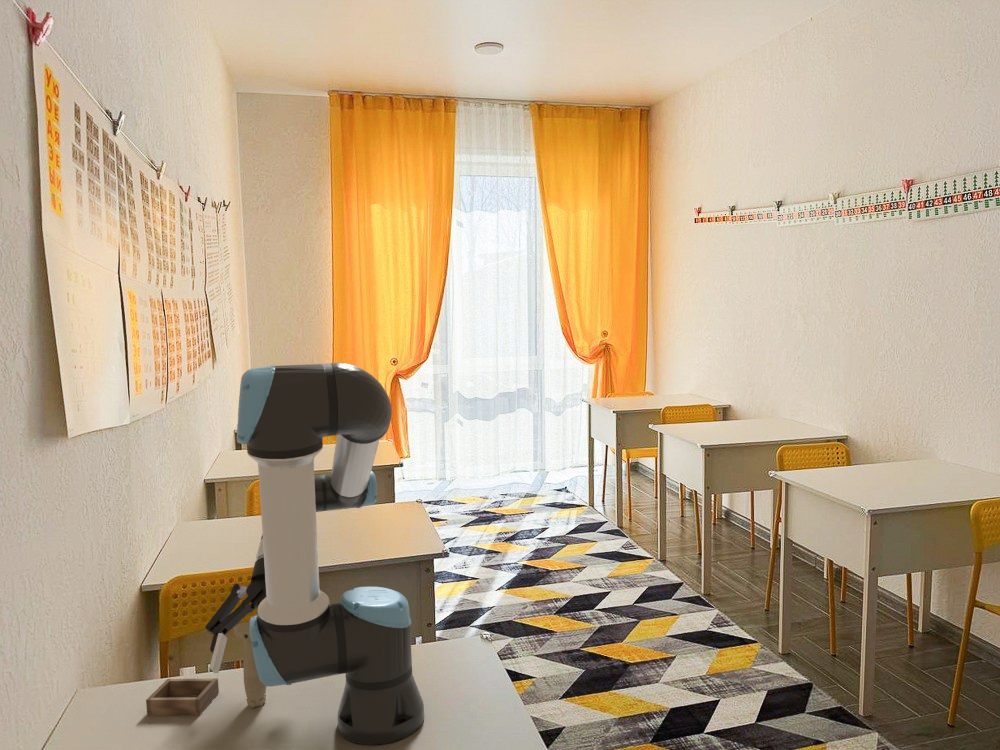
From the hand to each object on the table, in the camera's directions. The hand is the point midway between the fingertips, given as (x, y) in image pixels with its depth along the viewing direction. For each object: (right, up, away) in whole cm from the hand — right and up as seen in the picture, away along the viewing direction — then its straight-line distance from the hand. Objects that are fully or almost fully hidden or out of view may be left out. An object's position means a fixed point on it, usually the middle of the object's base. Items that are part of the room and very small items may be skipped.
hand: (249, 670), depth 135 cm
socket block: (-14, -8, +3) cm, 16 cm away
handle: (0, -7, +3) cm, 8 cm away
